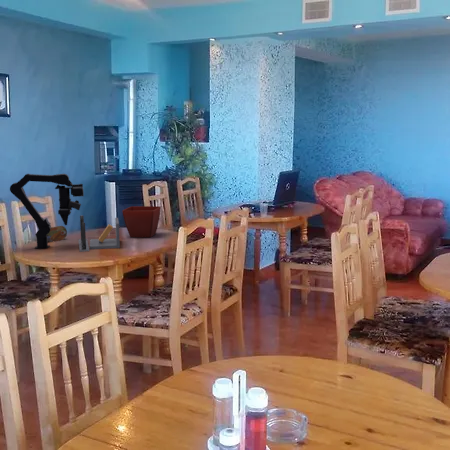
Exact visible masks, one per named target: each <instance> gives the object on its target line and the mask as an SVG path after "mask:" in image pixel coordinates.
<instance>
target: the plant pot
mask: <svg viewBox="0 0 450 450" xmlns="http://www.w3.org/2000/svg"><path fill="white" fill-rule="evenodd" d="M161 208H162V207H161V206H154V205H153V206H145V205H143V206H141V205H137V206H134V205H133V206H129V207H127V208H124V209H123V210H122V211H121V213H122V217H123V220H124V224H125V227H126V230H127V232H128V235H129V237H130V238H152V237H153V236H154V235H156V233H157V230H158V226H159V224H160V223H159V221H160V216H161Z"/></svg>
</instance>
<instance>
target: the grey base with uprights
mask: <svg viewBox="0 0 450 450" xmlns="http://www.w3.org/2000/svg"><path fill="white" fill-rule="evenodd" d="M114 220H115V221H114V222H115V238H105V240H104V241H103V243H102V242H101V243H99V238H95V239H94V238H93V239H90V240H89V250H105V249H106V250H107V249H120V248H121V244H120V221H119V217H115V218H114Z"/></svg>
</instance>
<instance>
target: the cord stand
mask: <svg viewBox="0 0 450 450" xmlns="http://www.w3.org/2000/svg"><path fill="white" fill-rule="evenodd" d="M84 219H85V217H84V215H82V214H81V215H79V223H80V224H79V225H80V238H79V239H77V240H78V248H79V252H80V253H81V252H83V253H84V252H90V245H89V239H88V238H87V237H86V222H85V220H84Z"/></svg>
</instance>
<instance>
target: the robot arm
mask: <svg viewBox="0 0 450 450" xmlns="http://www.w3.org/2000/svg"><path fill="white" fill-rule="evenodd" d="M29 182H36V183H37V182H38V183H39V182H41V183H52V184H53V183H54V184H57V185H56V186H55V188H54V189H55V190H58V202H59V203H58V204H59V207H58V208H59V209H58V210H57V211H58V215H59V216H60V217H61V220H62V222H63V225H64V226H68V223H69V222H68V220H69V216H70V215H71V213H72V209H75V210H77V211H80V208H81V206H82V204H81V203H80V201H79V200H77V199H75V201H72V198H71V195H72V197H84V193H85V192H84V186H83V183H78V184H77V183H76V184H73V182H72V181H71V180H70V176H69V175H68V174H66V173H58V174H57V173H56V174H37V173H36V174H35V173H26V174H25V175H23V177H21V178H20V180H18V181H17V182H13V183H12V184H11V185H10V187H9V192H10V193H11V194H12V195H13V196H14V197H16V198H17V199H18V200H19V201H20V202H21V203H22V205H23V206H24V208H25V209H26V211H27V212H28V214H30V216H31V218H32V219H33V220H34V222H35V224H36V227H37V229H38V230H37V231H36V233H35V237H36V246H35V247H34V249H48V248H49V247H51V245H50V244H48V243H49V242H48V240H47V236H46V235H47V234H48V233H49V232H50V230H51V227H52V225H51V224H52V223H51V222H50V221H49V220H48V218H47V217H45V218H43V216H42V215H41V214H40V213H39V211H38V210H37V209H36V208H35V206H34V204H33V203H32V201H31V200H30V198H29V197H28V196H27V194H26V192H25V189H24V187H25V186H26V185H27V184H28V183H29Z"/></svg>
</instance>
